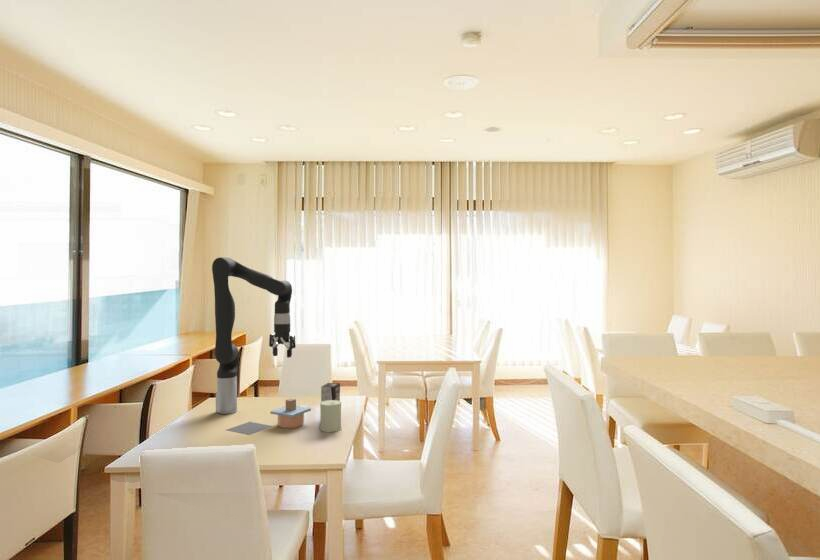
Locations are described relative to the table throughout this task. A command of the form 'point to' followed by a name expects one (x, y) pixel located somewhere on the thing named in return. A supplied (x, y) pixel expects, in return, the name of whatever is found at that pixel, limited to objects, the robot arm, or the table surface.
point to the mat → (249, 428)
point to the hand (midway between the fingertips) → (282, 356)
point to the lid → (290, 409)
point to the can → (330, 415)
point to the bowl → (290, 421)
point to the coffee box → (330, 392)
